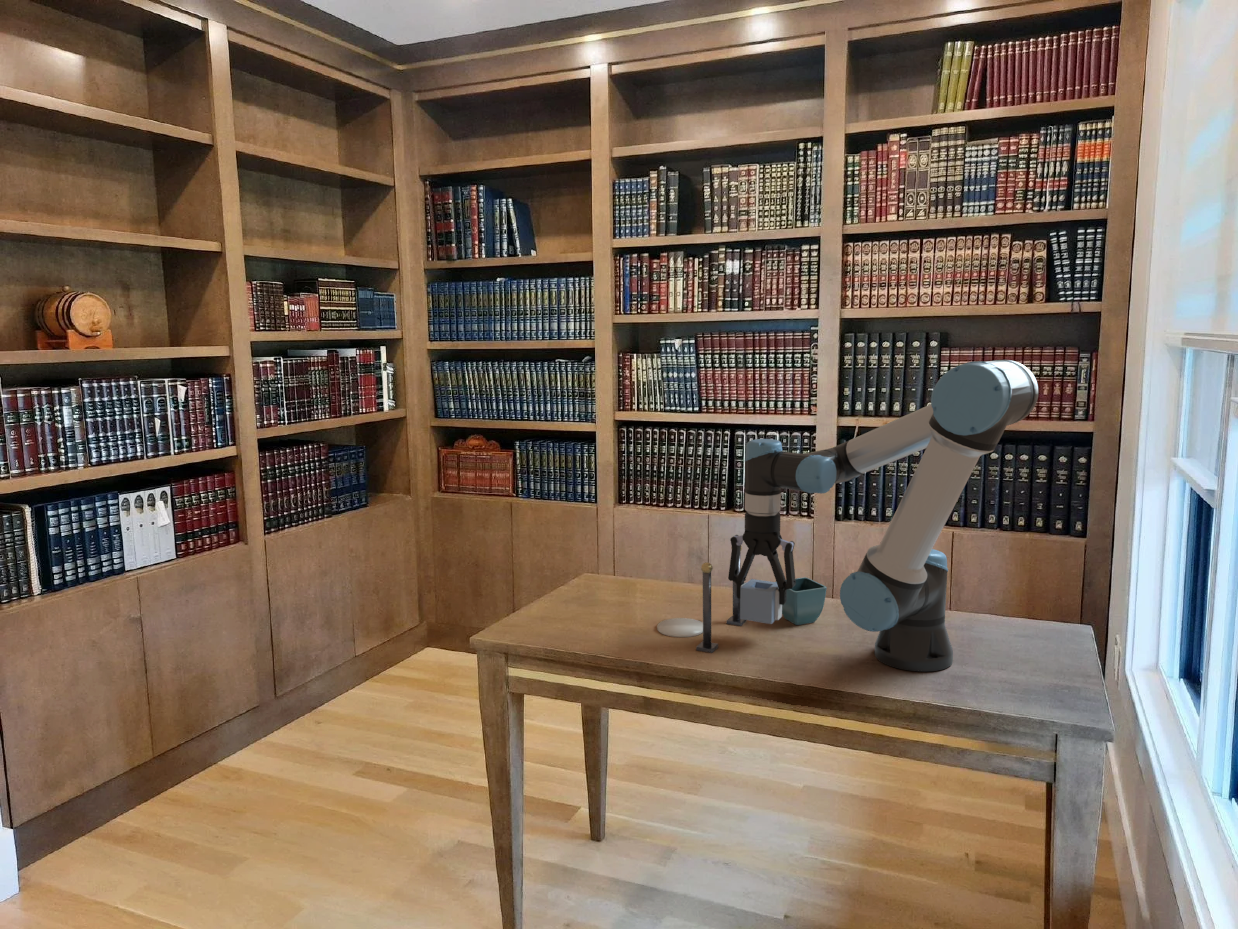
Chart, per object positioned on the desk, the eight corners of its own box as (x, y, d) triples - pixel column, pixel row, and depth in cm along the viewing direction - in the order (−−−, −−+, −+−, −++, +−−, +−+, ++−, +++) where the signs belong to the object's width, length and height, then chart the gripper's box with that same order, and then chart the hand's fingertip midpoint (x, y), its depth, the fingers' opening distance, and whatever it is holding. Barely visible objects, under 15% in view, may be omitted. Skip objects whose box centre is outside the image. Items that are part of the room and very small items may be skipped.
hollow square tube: (781, 614, 186) (782, 583, 184) (771, 624, 180) (772, 592, 178) (751, 609, 189) (751, 579, 188) (740, 619, 183) (740, 587, 182)
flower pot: (827, 624, 195) (828, 586, 193) (794, 630, 191) (795, 591, 190) (805, 613, 203) (805, 576, 201) (773, 618, 199) (773, 581, 198)
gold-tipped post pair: (746, 621, 198) (746, 541, 195) (712, 653, 179) (711, 565, 176) (732, 619, 199) (731, 540, 196) (696, 650, 181) (695, 563, 178)
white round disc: (712, 624, 196) (712, 622, 196) (694, 640, 186) (694, 637, 186) (669, 617, 201) (669, 615, 201) (649, 632, 192) (649, 630, 191)
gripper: (813, 512, 179) (811, 617, 183) (724, 504, 188) (724, 603, 192) (803, 520, 172) (801, 628, 176) (712, 511, 182) (711, 613, 186)
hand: (761, 615), depth 184 cm, fingers closed on hollow square tube, 7 cm apart
